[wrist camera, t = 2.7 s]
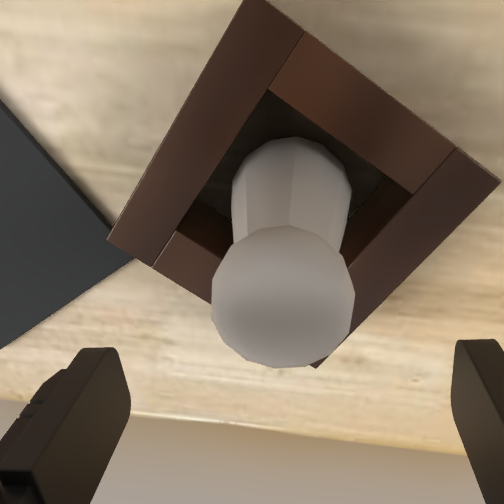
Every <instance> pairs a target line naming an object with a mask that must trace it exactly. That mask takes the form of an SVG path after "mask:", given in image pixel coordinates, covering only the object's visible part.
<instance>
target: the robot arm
mask: <svg viewBox="0 0 504 504" xmlns="http://www.w3.org/2000/svg"><path fill="white" fill-rule="evenodd" d="M451 407H452V413H453V417H454V421H455V424H456V426H457V429H458V432H459V434H460V437H461V440H462V442H463V445H464V447H465V450H466V453H467V455H468V458H469V461H470V463H471V466H472V469H473V471H474V474H475V476H476V479H477V482H478V484H479V487H480V490H481V492H482V495H483V498H484V500H485V503H486V504H504V351H503V350H502V348H501V346H500V345H499V343H498V342H497V341H496V340H495V339H478V340H458V341H457V343H456V346H455V354H454V365H453V375H452V385H451ZM130 410H131V398H130V393H129V389H128V386H127V382H126V379H125V375H124V372H123V368H122V365H121V361H120V358H119V355H118V352H117V350H116V349H115V348H113V347H105V348H83V349H81V350H80V351H79V352H78V354H77V355H76V357H75V358H74V359H73V361H72V362H71V364H70V365H69V366H68V368H67V369H61V370H60V371H58V372H57V373H56V374H55V375H53V376H52V377H51V378H50V379H48V380H47V381H46V382H44V383H43V384H42V385H41V387H40V388H39V389H38V391H37V392H36V393H35V395H34V396H33V398H32V399H31V400H30V404H27V406H26V407H25V408H24V410H23V411H22V412H21V414H20V417H19V418H18V419H16V420H15V422H14V423H13V424H12V426H11V427H10V428H9V430H8V431H7V433H6V434H5V435H4V436H3V438H2V439H1V441H0V504H90V502H91V500H92V498H93V496H94V494H95V492H96V489H97V487H98V485H99V483H100V481H101V478H102V476H103V474H104V472H105V470H106V468H107V465H108V463H109V461H110V459H111V456H112V454H113V452H114V450H115V448H116V446H117V444H118V441H119V439H120V437H121V435H122V433H123V430H124V428H125V426H126V424H127V422H128V419H129V415H130Z"/></svg>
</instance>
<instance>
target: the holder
mask: <svg viewBox="0 0 504 504" xmlns="http://www.w3.org/2000/svg"><path fill="white" fill-rule="evenodd" d="M267 89H269V90H270V91H271V92H273V93H274V94H275V95H277V96H278V97H279V98H281V99H282V100H284V101H285V102H286V103H288V104H289V105H290V106H292V107H293V108H295V109H296V110H297V111H299V112H300V113H301V114H303V115H304V116H306V117H307V118H308V119H310V120H311V121H312V122H314V123H315V124H317V125H318V126H319V127H321V128H322V129H323V130H325V131H326V132H328V133H329V134H330V135H332V136H333V137H334V138H336V139H337V140H339V141H340V142H341V143H343V144H344V145H345V146H347V147H348V148H350V149H351V150H352V151H354V152H355V153H356V154H358V155H359V156H361V157H362V158H363V159H365V160H366V161H367V162H369V163H370V164H372V165H373V166H374V167H376V168H377V169H378V170H380V171H381V172H383V173H384V174H385V175H387V177H386V178H385V179H384V180H383V181H382V183H381V184H380V185H379V186H378V187H377V188H376V190H375V191H374V192H373V193H372V194H371V195H370V197H369V198H368V199H367V200H366V201H365V202H364V204H363V205H362V206H361V207H360V208H359V209H358V211H357V212H356V213H355V214H354V215H353V216H352V218H351V219H350V220H349V221H348V222H347V223H346V227H345V231H344V235H343V239H342V243H341V246H340V250H339V253H340V254H341V255H342V256H343V258H344V261H345V264H346V267H347V270H348V273H349V275H350V278H351V281H352V284H353V288H354V291H355V300H354V306H353V312H352V318H351V324H350V330H349V334H348V335H347V336H346V337H345V338H344V340H345V339H346V338H347V337H348V336H349V335H350V334H351V333H352V332H353V331H354V330H355V329H356V328H357V327H358V326H359V325H360V324H361V323H362V322H363V321H364V320H365V319H366V318H367V317H368V316H369V315H370V314H371V313H372V312H373V311H374V310H375V309H376V308H377V307H378V306H379V305H380V304H381V303H382V302H383V301H384V300H385V299H386V298H387V297H388V296H389V295H390V294H391V293H392V292H393V291H394V290H395V289H396V288H397V287H398V286H399V285H400V284H401V283H402V282H403V281H404V280H405V279H406V278H407V277H408V276H409V275H410V274H411V273H412V272H413V271H414V270H415V269H416V268H417V267H418V266H419V265H420V264H421V263H422V262H423V261H424V260H425V259H426V258H427V257H428V256H429V255H430V254H431V253H432V252H433V251H434V250H435V249H436V248H437V247H438V246H439V245H440V244H441V243H442V242H443V241H444V240H445V239H446V238H447V237H448V236H449V235H450V234H451V233H452V232H453V231H454V230H455V229H456V228H457V227H458V226H459V225H460V224H461V223H462V222H463V221H464V220H465V219H466V218H467V217H468V216H469V215H470V214H471V213H472V212H473V211H474V210H475V209H476V208H477V207H478V206H479V205H480V204H481V203H482V202H483V201H484V200H485V199H486V198H487V196H488V195H489V194H490V193H491V192H492V191H493V190H494V189H495V188H496V187H497V186H498V185H499V184H500V183H501V180H500V179H499V178H498V177H496V176H495V175H494V174H492V173H491V172H490V171H489V170H487V169H486V168H485V167H483V166H482V165H481V164H480V163H478V162H477V161H476V160H474V159H473V158H472V157H471V156H469V155H468V154H467V153H465V152H464V151H463V150H461V149H460V148H459V147H458V146H456V145H455V144H454V143H452V142H451V141H450V140H448V139H447V138H446V137H444V136H443V135H442V134H441V133H439V132H438V131H437V130H435V129H434V128H433V127H431V126H430V125H429V124H427V123H426V122H425V121H424V120H422V119H421V118H420V117H418V116H417V115H416V114H414V113H413V112H412V111H411V110H409V109H408V108H407V107H405V106H404V105H403V104H401V103H400V102H399V101H397V100H396V99H395V98H394V97H392V96H391V95H390V94H388V93H387V92H386V91H384V90H383V89H382V88H381V87H379V86H378V85H377V84H375V83H374V82H373V81H371V80H370V79H369V78H367V77H366V76H365V75H364V74H362V73H361V72H360V71H358V70H357V69H356V68H354V67H353V66H352V65H350V64H349V63H348V62H347V61H345V60H344V59H343V58H341V57H340V56H339V55H337V54H336V53H335V52H334V51H332V50H331V49H330V48H328V47H327V46H326V45H324V44H323V43H322V42H320V41H319V40H318V39H317V38H315V37H314V36H313V35H311V34H310V33H309V32H307V31H305V30H304V29H303V28H302V27H301V26H300V25H298V24H297V23H296V22H294V21H293V20H292V19H290V18H289V17H288V16H287V15H285V14H284V13H283V12H281V11H280V10H279V9H277V8H276V7H275V6H273V5H272V4H271V3H270V2H268V1H267V0H243V1H242V3H241V5H240V7H239V8H238V10H237V12H236V14H235V15H234V17H233V19H232V21H231V22H230V24H229V26H228V28H227V29H226V31H225V33H224V35H223V36H222V38H221V40H220V42H219V43H218V45H217V47H216V49H215V50H214V52H213V54H212V56H211V57H210V59H209V61H208V62H207V64H206V66H205V68H204V69H203V71H202V73H201V75H200V76H199V78H198V80H197V82H196V83H195V85H194V87H193V89H192V90H191V92H190V94H189V96H188V97H187V99H186V101H185V103H184V104H183V106H182V108H181V110H180V111H179V113H178V115H177V117H176V118H175V120H174V122H173V124H172V125H171V127H170V129H169V130H168V132H167V134H166V136H165V137H164V139H163V141H162V143H161V144H160V146H159V148H158V150H157V151H156V153H155V155H154V157H153V158H152V160H151V162H150V164H149V165H148V167H147V169H146V171H145V172H144V174H143V176H142V178H141V179H140V181H139V183H138V185H137V186H136V188H135V190H134V192H133V193H132V195H131V197H130V199H129V200H128V202H127V204H126V205H125V207H124V209H123V211H122V212H121V214H120V216H119V218H118V219H117V221H116V223H115V225H114V226H113V228H112V230H111V232H110V233H109V235H108V237H107V241H109V242H110V243H112V244H114V245H115V246H117V247H119V248H120V249H122V250H123V251H125V252H127V253H128V254H130V255H132V256H133V257H135V258H136V259H138V260H140V261H141V262H143V263H145V264H146V265H148V266H149V267H151V266H152V268H153V269H154V270H156V271H157V272H159V273H161V274H162V275H164V276H166V277H167V278H169V279H170V280H172V281H174V282H175V283H177V284H178V285H180V286H182V287H183V288H185V289H187V290H188V291H190V292H191V293H193V294H195V295H196V296H198V297H200V298H201V299H203V300H204V301H206V302H208V303H209V304H211V303H212V279H213V277H214V275H215V273H216V271H217V269H218V267H219V265H220V264H221V262H222V260H223V258H224V257H225V255H226V253H227V252H228V250H229V248H230V247H231V245H233V244H234V239H233V226H232V221H230V220H229V219H227V218H226V217H224V216H222V215H221V214H219V213H218V212H216V211H215V210H213V209H212V208H210V207H209V206H207V205H206V204H204V203H203V202H201V201H200V200H198V199H196V198H197V196H198V195H199V193H200V192H201V190H202V189H203V187H204V185H205V184H206V182H207V181H208V179H209V178H210V176H211V175H212V173H213V172H214V170H215V169H216V167H217V166H218V164H219V162H220V161H221V159H222V158H223V156H224V155H225V153H226V152H227V150H228V149H229V147H230V146H231V144H232V143H233V141H234V139H235V138H236V136H237V135H238V133H239V132H240V130H241V129H242V127H243V126H244V124H245V123H246V121H247V120H248V118H249V116H250V115H251V113H252V112H253V110H254V109H255V107H256V106H257V104H258V103H259V101H260V100H261V98H262V97H263V95H264V93H265V92H266V90H267ZM344 340H343V341H344ZM343 341H342V342H343ZM342 342H341V343H342ZM341 343H340V344H341ZM340 344H339V345H340ZM339 345H338V346H339ZM328 356H329V355H328ZM328 356H326V357H324V358H322V359H320V360H318V361H316V362H314V363H312V364H310V366H312V367H314V368H315V369H316V368H317V367H318V366H319V365H320V364H321V363H322V362H323V361H324V360H325V359H326V358H327V357H328Z"/></svg>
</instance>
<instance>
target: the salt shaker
mask: <svg viewBox="0 0 504 504" xmlns="http://www.w3.org/2000/svg"><path fill="white" fill-rule="evenodd" d="M351 193H352V189H351V186H350V183H349V180H348V177H347V174H346V170H345V167H344V165H343V164H342V163H341V162H340V161H339V160H338V159H337V158H336V157H335V156H334V155H333V154H332V153H331V152H330V151H329V150H328V149H327V148H326V147H325V146H323V145H322V144H320V143H316V142H313V141H310V140H307V139H304V138H301V137H298V136H294V137H287V138H280V139H274V140H269V141H268V142H266V143H265V144H263V145H262V146H260V147H259V148H257V149H256V150H254V151H253V152H251V153H250V154H248V155H247V156H246V157H245V158H244V160H243V161H242V163H241V165H240V167H239V169H238V171H237V172H236V174H235V176H234V178H233V180H232V196H231V213H232V226H233V239H234V244H233V245H231V247H230V248H229V250H228V252H227V253H226V255H225V257H224V258H223V260H222V262H221V264H220V265H219V267H218V269H217V271H216V273H215V275H214V277H213V279H212V303H211V319H212V321H213V323H214V325H215V327H216V328H217V330H218V332H219V334H220V336H221V338H222V340H223V341H224V343H225V344H227V345H228V346H229V347H230V348H232V349H233V350H234V351H235V352H237V353H238V354H239V355H241V356H242V357H243V358H244V359H246V360H248V361H251V362H255V363H258V364H262V365H265V366H268V367H272V368H291V367H305V366H307V365H310V364H312V363H314V362H316V361H318V360H320V359H322V358H324V357H326V356H328V355H330V354H332V352H333V351H334V350H335V349H336V348H337V347H338V345H339V344H340V343H341V342H342V341H343V340H344V338H345V337H346V336H347V335H348V334H349V330H350V324H351V318H352V312H353V306H354V300H355V291H354V288H353V284H352V281H351V278H350V275H349V273H348V270H347V267H346V264H345V261H344V258H343V256H342V255H341V254H340V253H339V250H340V246H341V243H342V239H343V235H344V231H345V227H346V223H347V219H348V214H349V207H350V200H351Z"/></svg>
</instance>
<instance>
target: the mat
mask: <svg viewBox="0 0 504 504" xmlns="http://www.w3.org/2000/svg"><path fill="white" fill-rule="evenodd" d="M112 228H113V227H112V226H111V224H110V223H109V222H108V221H107V220H106V219H105V218H104V217H103V215H102V214H101V213H100V212H99V211H98V210H97V209H96V207H95V206H94V205H93V204H92V203H91V202H90V201H89V200H88V198H87V197H86V196H85V195H84V194H83V193H82V192H81V190H80V189H79V188H78V187H77V186H76V185H75V184H74V183H73V181H72V180H71V179H70V178H69V177H68V176H67V175H66V174H65V172H64V171H63V170H62V169H61V168H60V167H59V166H58V164H57V163H56V162H55V161H54V160H53V159H52V158H51V157H50V155H49V154H48V153H47V152H46V151H45V150H44V149H43V147H42V146H41V145H40V144H39V143H38V142H37V141H36V140H35V138H34V137H33V136H32V135H31V134H30V133H29V132H28V130H27V129H26V128H25V127H24V126H23V125H22V124H21V123H20V121H19V120H18V119H17V118H16V117H15V116H14V115H13V114H12V112H11V111H10V110H9V109H8V108H7V107H6V106H5V104H4V103H3V102H2V101H1V100H0V349H2V348H3V347H5V346H6V345H8V344H9V343H11V342H12V341H13V340H15V339H16V338H18V337H19V336H21V335H22V334H24V333H25V332H27V331H28V330H30V329H31V328H32V327H34V326H35V325H37V324H38V323H40V322H41V321H43V320H44V319H46V318H47V317H49V316H50V315H51V314H53V313H54V312H56V311H57V310H59V309H60V308H62V307H63V306H65V305H66V304H68V303H69V302H71V301H72V300H73V299H75V298H76V297H78V296H79V295H81V294H82V293H84V292H85V291H87V290H88V289H90V288H91V287H92V286H94V285H95V284H97V283H98V282H100V281H101V280H103V279H104V278H106V277H107V276H109V275H110V274H112V273H113V272H114V271H116V270H117V269H119V268H120V267H122V266H123V265H125V264H126V263H128V262H129V261H131V260H132V259H133V258H135V257H133V256H132V255H130V254H128V253H127V252H125V251H123V250H122V249H120V248H119V247H117V246H115V245H114V244H112V243H110V242H109V241H107V237H108V235H109V233H110V232H111V230H112Z"/></svg>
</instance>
